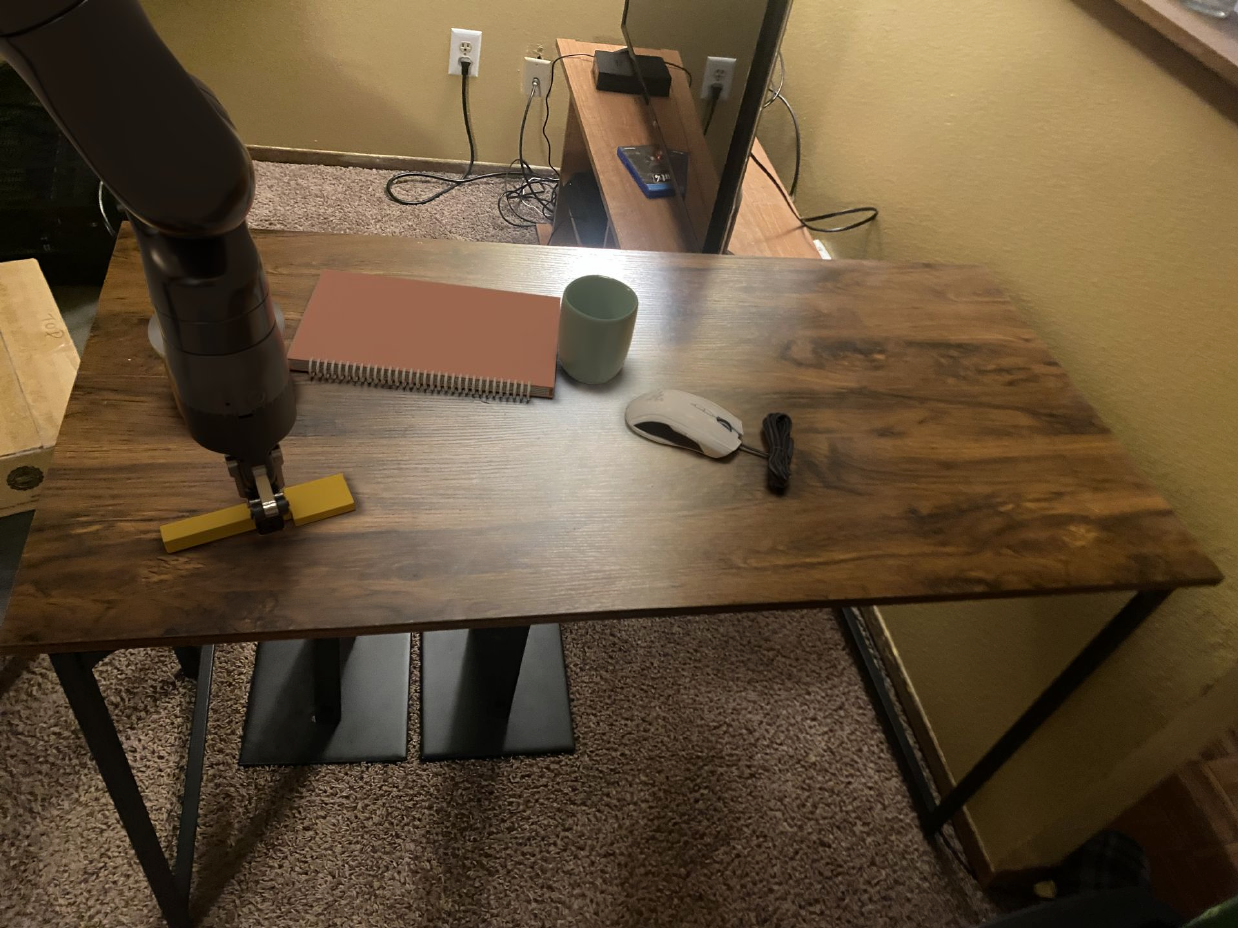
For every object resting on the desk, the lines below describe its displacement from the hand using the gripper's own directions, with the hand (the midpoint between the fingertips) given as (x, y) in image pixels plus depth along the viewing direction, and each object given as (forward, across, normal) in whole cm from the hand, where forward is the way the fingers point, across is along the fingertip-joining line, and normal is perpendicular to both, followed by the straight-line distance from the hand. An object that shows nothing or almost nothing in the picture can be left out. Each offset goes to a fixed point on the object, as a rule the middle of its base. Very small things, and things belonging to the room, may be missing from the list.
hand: (270, 526), depth 71 cm
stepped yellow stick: (+1, -2, 0) cm, 2 cm away
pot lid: (-8, -18, +1) cm, 20 cm away
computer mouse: (+1, +4, +43) cm, 43 cm away
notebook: (+1, -20, +22) cm, 30 cm away
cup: (+1, -10, +36) cm, 37 cm away
